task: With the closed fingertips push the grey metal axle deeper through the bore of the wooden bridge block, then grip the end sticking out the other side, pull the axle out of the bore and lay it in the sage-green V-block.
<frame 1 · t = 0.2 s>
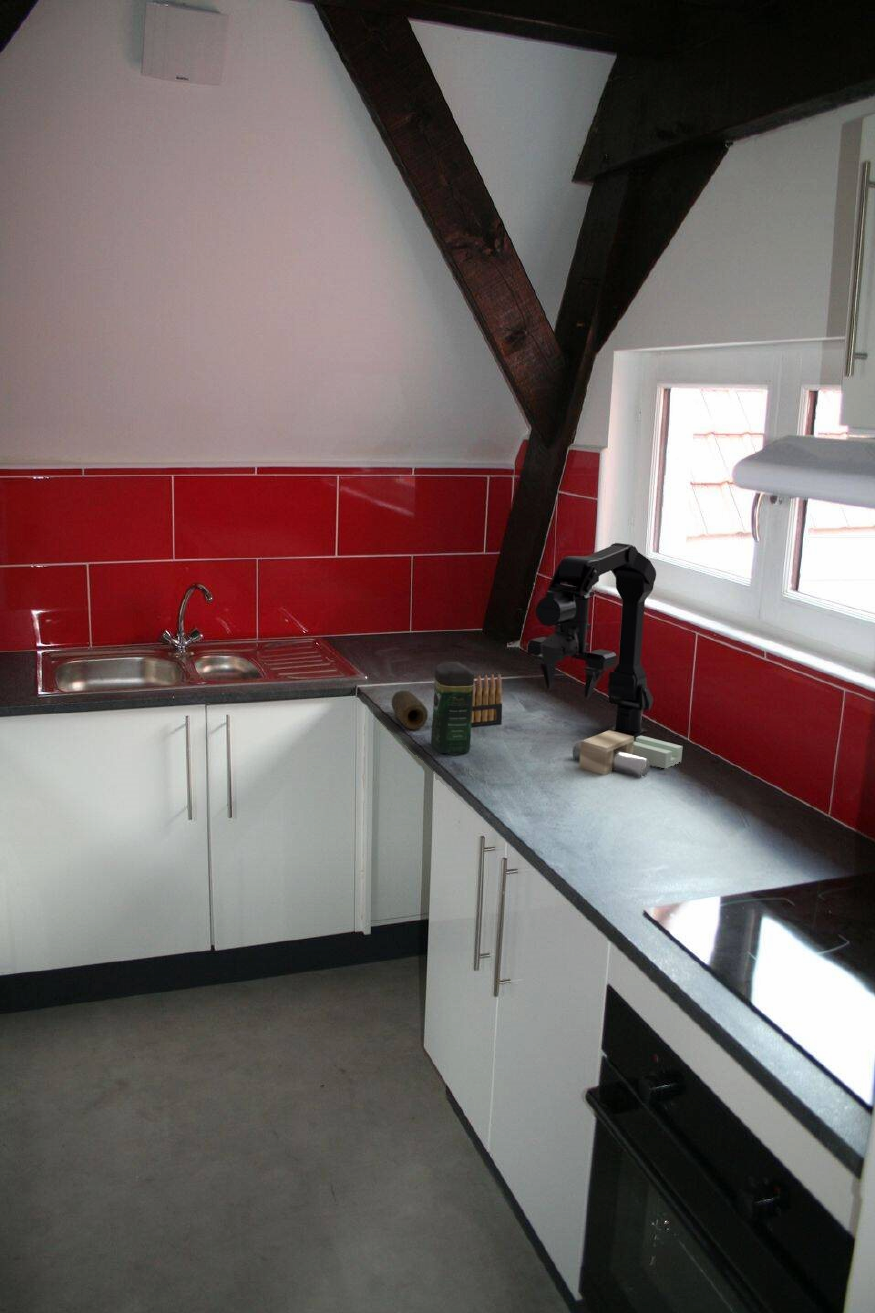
hand: (568, 693, 228), 14 cm above the countertop, tool pointing down, fingers open, 9 cm apart
coffee jar: (450, 749, 235), on the countertop
wooden bridge block: (605, 765, 229), on the countertop
axle: (609, 767, 228), on the countertop
v block: (651, 760, 234), on the countertop
ammunition clip: (479, 726, 252), on the countertop
brown hollow cylinder: (408, 723, 252), on the countertop
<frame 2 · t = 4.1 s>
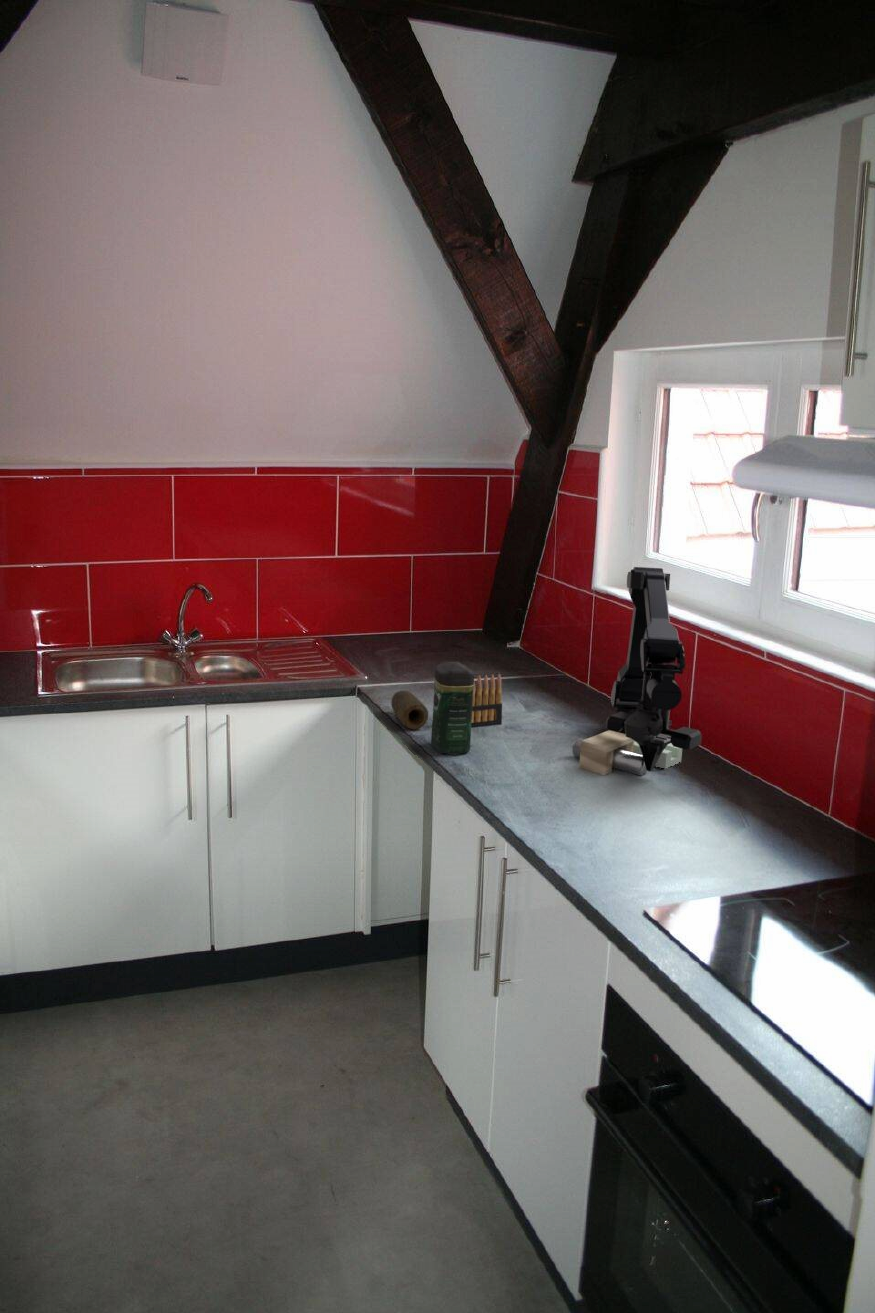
hand: (649, 770, 222), 1 cm above the countertop, tool pointing down, fingers closed
axle: (607, 765, 228), on the countertop, tilted 20°, touching gripper
everything else where it was.
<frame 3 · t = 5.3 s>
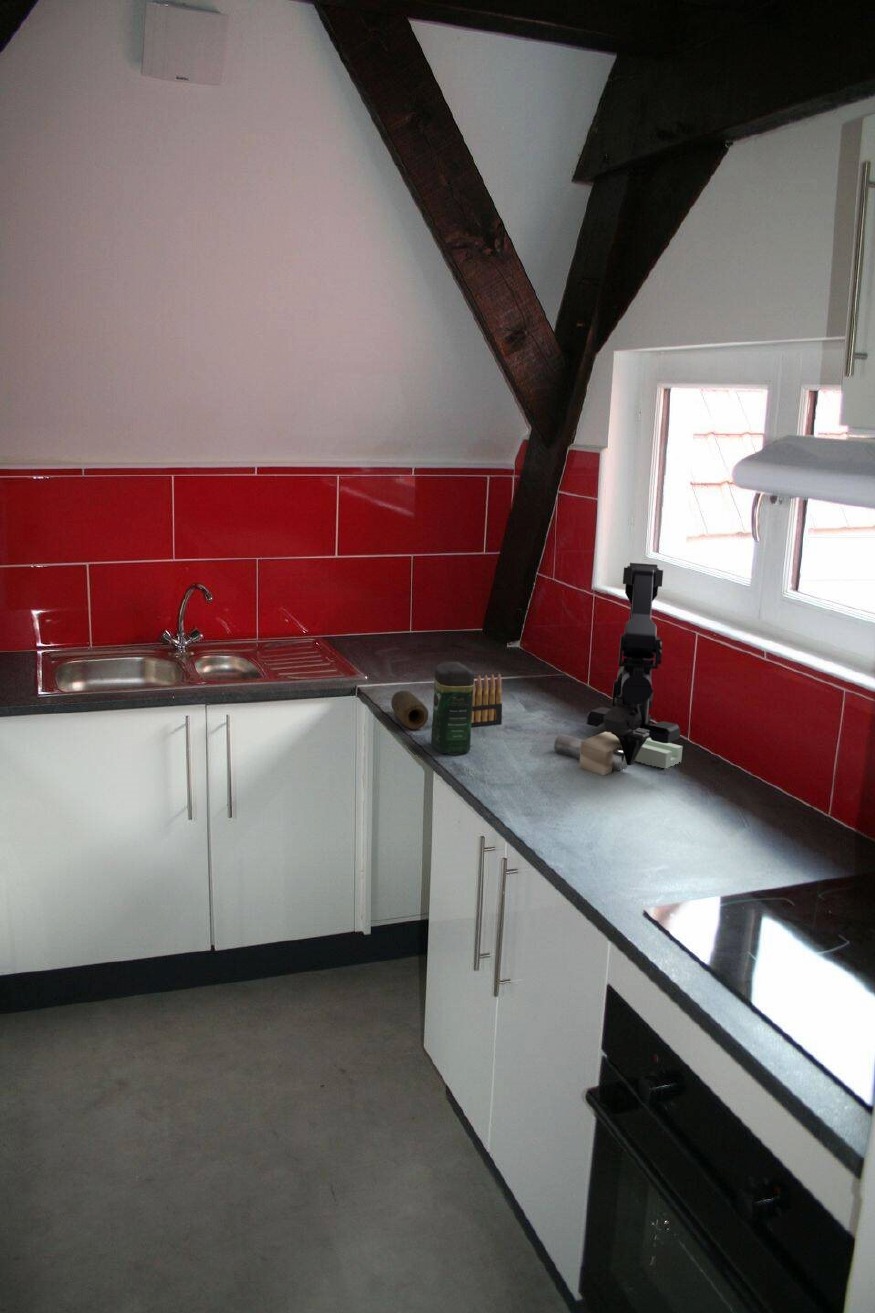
hand: (629, 764, 225), 2 cm above the countertop, tool pointing down, fingers closed
axle: (588, 761, 231), on the countertop, tilted 20°
everything else where it was.
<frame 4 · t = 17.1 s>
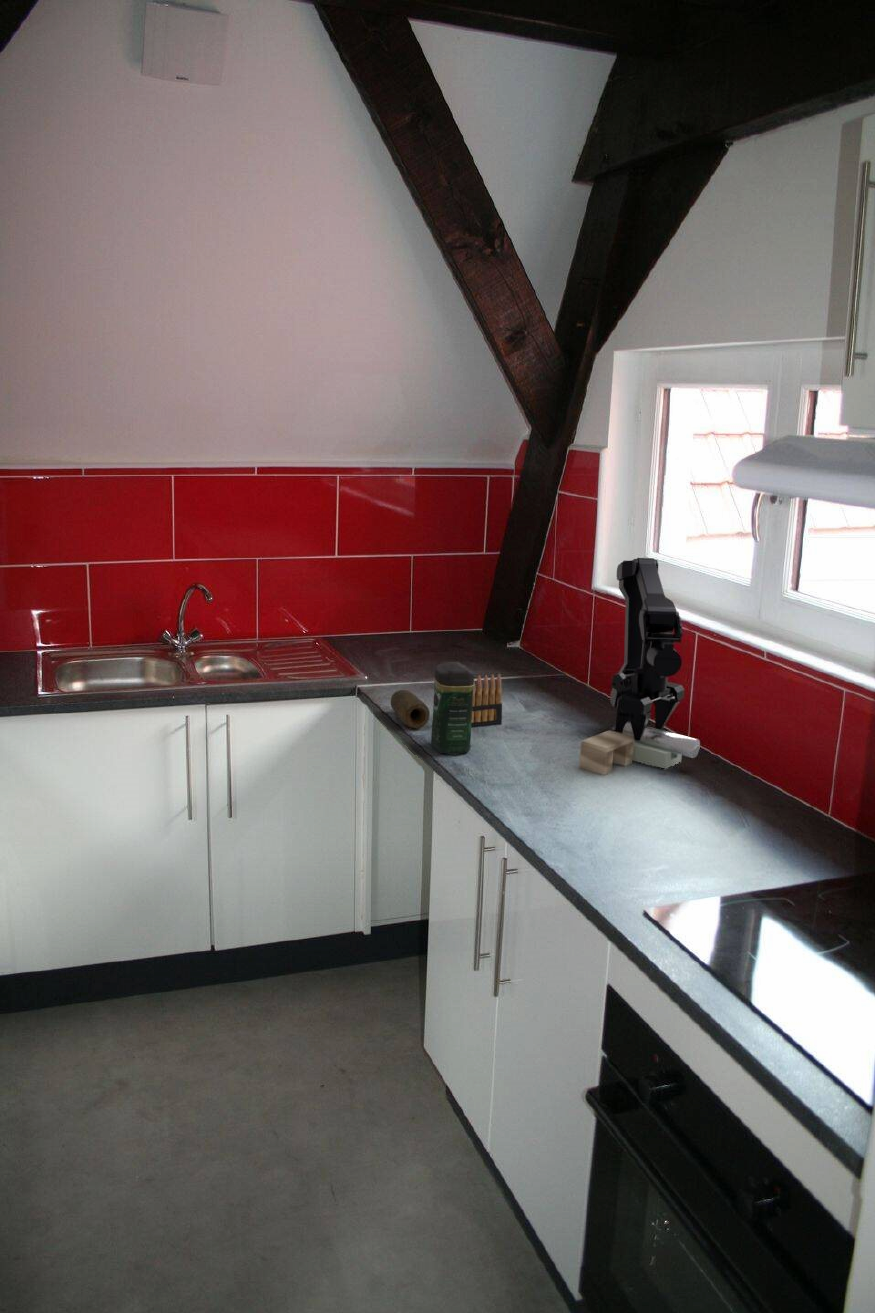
hand: (647, 735, 233), 5 cm above the countertop, tool pointing down, fingers open, 9 cm apart
axle: (659, 748, 232), point 3 cm above the countertop, touching v block
everything else where it was.
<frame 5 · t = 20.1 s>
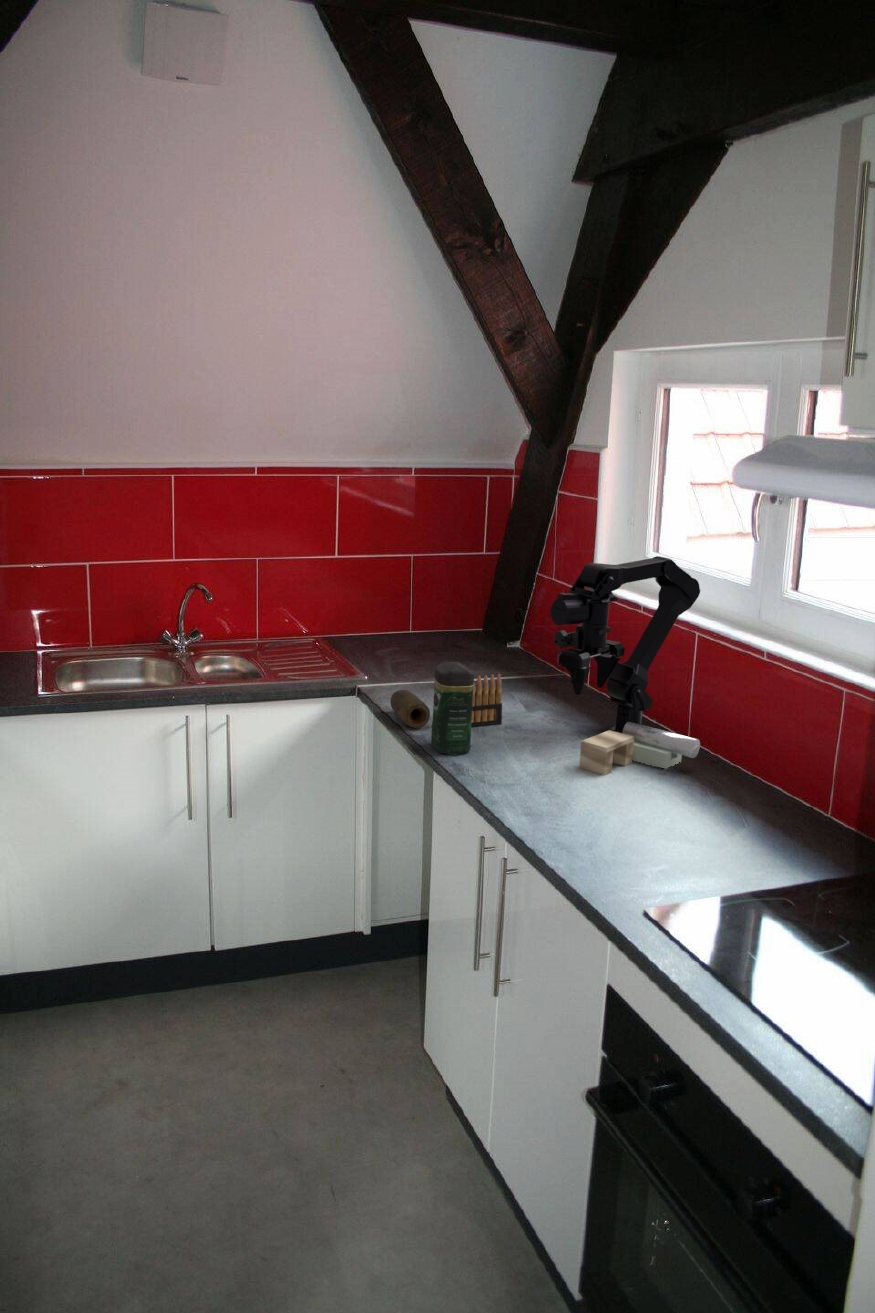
hand: (588, 691, 244), 11 cm above the countertop, tool pointing down, fingers open, 9 cm apart
nothing on the countertop moved.
at the end: axle 1.5 cm off-centre on the v block, point 2.9 cm above the v block's base; the gripper is holding nothing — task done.
